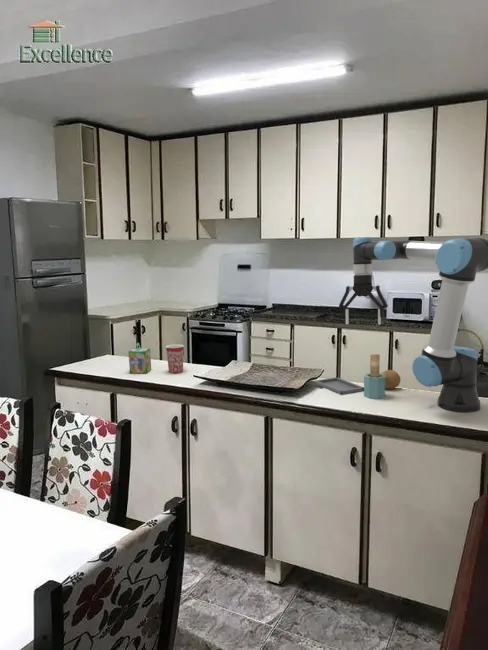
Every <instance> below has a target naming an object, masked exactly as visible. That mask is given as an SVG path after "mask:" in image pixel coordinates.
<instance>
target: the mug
mask: <svg viewBox="0 0 488 650" xmlns="http://www.w3.org/2000/svg"><path fill="white" fill-rule="evenodd" d="M184 347H185V346H184V344H175V343H174V344H168V345H166V346H165V349H166V359H167V367H168V373H169V374H181V373H183V372H184V355H185V348H184Z"/></svg>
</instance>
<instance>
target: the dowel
mask: <svg viewBox="0 0 488 650" xmlns="http://www.w3.org/2000/svg"><path fill="white" fill-rule="evenodd" d="M380 358H381V356H380V354H376V353H373V354H370V361H369V362H370V368H369V369H370V371H369V373H370V377H379V373H380V362H381V361H380Z"/></svg>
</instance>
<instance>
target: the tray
mask: <svg viewBox="0 0 488 650" xmlns="http://www.w3.org/2000/svg"><path fill="white" fill-rule="evenodd" d="M314 387H316V388H319V389H326V390H328V391H331V392H333V393H335V394H337V395H340V396H342V395H349V394H354V393H360V392H364V386H361V385H358V384H356V383H353V382H351V381H348V380H345V379H342V378H340V377H330V378H325V379H317V380H316V379H315V380H314Z"/></svg>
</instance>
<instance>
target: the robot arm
mask: <svg viewBox="0 0 488 650" xmlns="http://www.w3.org/2000/svg"><path fill="white" fill-rule="evenodd" d="M352 253H353V254H352V257H353V274H354V275H353V286H350V285H347V286H346V287H345V292H344V294H343V296H342V299H341V300H340V302H339V305H338V308H341V309H342V312H343V313H342V314H343V315H342V316H343V317H345V325H349V323H350V322H349V320H350V319H349V318H350V315H349V310H350V309H349V308H348V307H349V306H350V304H351V303H353V301H354V300H355V299H356V297H359V298H360V297H369V298H370V299H371V300H372V301H373V302H374V303H375V305H376V306H377V307H378V309H377V325H378V326H380V325H381V324H382V317H383V316H384V309H387V308H388V307H389V305H388V303H387V301H386V299H385V297H384V295H383V293H382V292H381V286H380V285H379V284H378V285H376V286H374V285H373V275H372V273H373V267H372V265H373V264H372V263H373V261H387V260H414V261H415V260H416V261H427V262H428V261H429V262H435V265H437V266H436V267H437V269H438V270H439V273H438V276H439V277H440V279H441V280H442V281H441V285H440V289H439V294H438V299H437V304H436V309H435V313H434V317H433V321H432V327H431V330H430V335H429V339H428V343H426V344H425V345H423V347H422V350H421V355H418V356H417V357H415V358H414V359H413V361H412V366H411V367H412V368H411V369H412V373H413V376H415V379H416V381H418V383H420V385H422V386H424V387H428V388H431V387H439V386H441V385H442V387H441V390H440V393H439V396H438V398H437V406H438V407H440V408H441V409H444V410H447V411H453V412H460V413H468V412H469V413H471V412H476V411H479V410H480V409H481V400H480V399H479V394H478V390H477V378H478V377H477V375H478V374H477V373H478V361H479V359H478V352H477V350H476V349H474V348H470V347H465V346H457V345H455V342H456V340H457V339H456V338H457V334H458V330H459V325H460V322H461V317H462V315H463V314H462V313H463V310H464V305H465V301H466V296H467V292H468V289H469V285H471V284H472V283H474V282H475V280H476V275H477V272H478V273H479V272H485V271H486V270H488V239H487V238H483V237H471V238H470V237H469V238H468V237H466V238H463V237H462V238H461V237H457V238H451V239H448V240H446V241H430V240H429V241H427V240H424V241H421V240H420V241H419V240H410V239H409V240H408V239H405V240H378V241H372V237H370V236H365V237H363V236H362V237H355V238H354V239H353V243H352ZM373 290H374V291H375V292H376V293H377V295H378V298H379V299H380V301H381V302H380V301H379V299H377V297H376V296H375V295H374V294H373V293H372V292H373ZM352 291H353V292H354V293H353V294H352V296H351V297H350V298H349V299H348V301H347V302H346V300H347V298H348V295H349V294H350V292H352ZM345 302H346V303H345ZM344 304H345V305H344Z"/></svg>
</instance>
